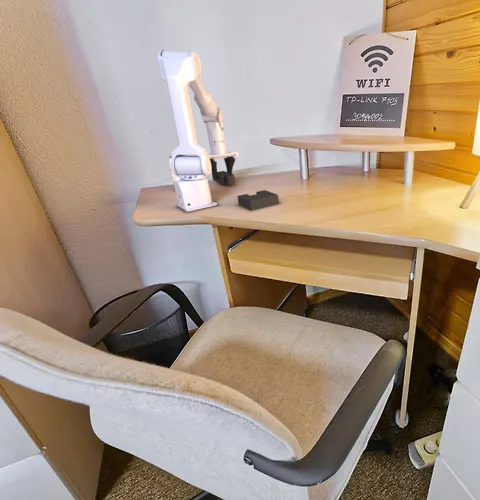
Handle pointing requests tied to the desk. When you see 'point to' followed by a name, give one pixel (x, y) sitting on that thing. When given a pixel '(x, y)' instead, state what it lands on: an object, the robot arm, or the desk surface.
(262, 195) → the notch pad
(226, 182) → the tab pad
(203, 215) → the desk surface
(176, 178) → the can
